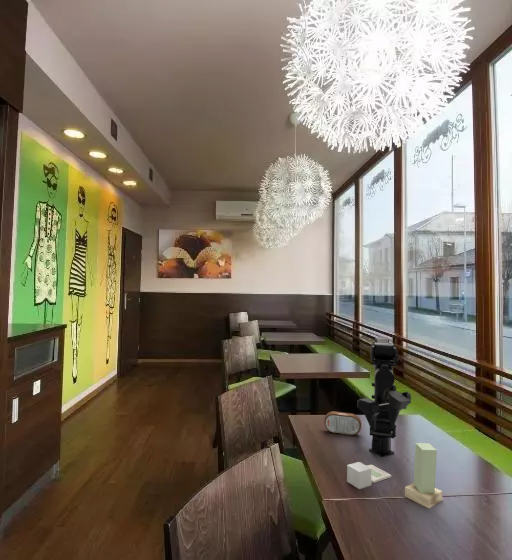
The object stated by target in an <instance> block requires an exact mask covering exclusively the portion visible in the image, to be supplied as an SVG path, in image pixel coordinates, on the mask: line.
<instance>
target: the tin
mask: <svg viewBox="0 0 512 560" xmlns="http://www.w3.org/2000/svg"><path fill="white" fill-rule="evenodd" d="M323 422H324V423H323V424H324V426H325V429H326V430H327V431H328V432H330V433H331V432H332V434H336V433H339V434H340V435H344V434H345V435H344V436H356V435H358V434H359V433H360V432H361V430H362V420H361V419H360V417H359V416H358V415H356V414H354V413H349V412H341V411H329V412H327V413H326V415H325V416H324V419H323Z"/></svg>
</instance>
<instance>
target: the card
mask: <svg viewBox="0 0 512 560" xmlns="http://www.w3.org/2000/svg"><path fill="white" fill-rule="evenodd" d="M367 466H368V467H370V468H371V483H372V484H374V483H378V482H381V481H383V480H386V479H390V478H392V475H391V474H390V473H389V472H387V471H384V470H382V469H381V468H379V467H377V466H375V465H373V464H368V465H367Z"/></svg>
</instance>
